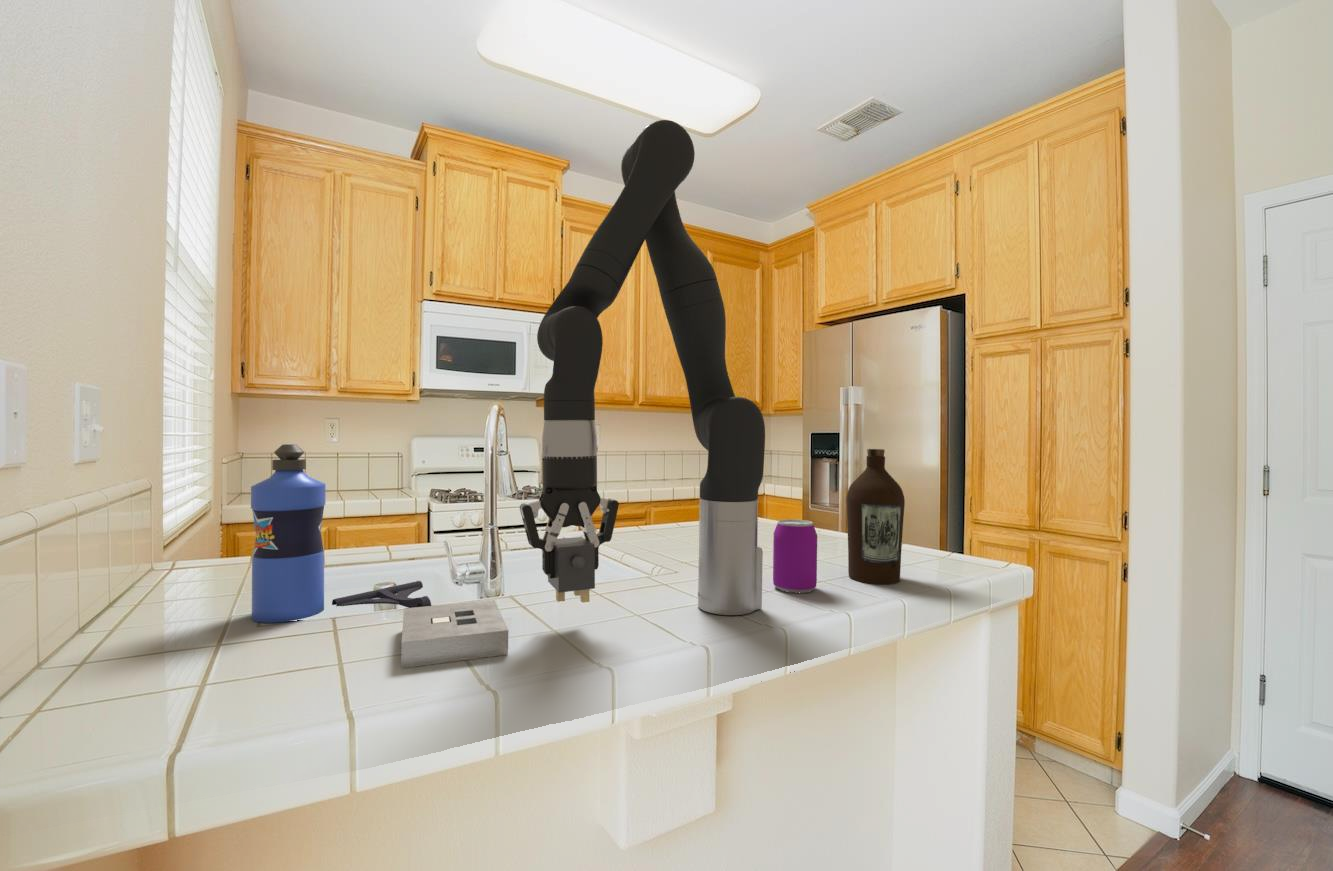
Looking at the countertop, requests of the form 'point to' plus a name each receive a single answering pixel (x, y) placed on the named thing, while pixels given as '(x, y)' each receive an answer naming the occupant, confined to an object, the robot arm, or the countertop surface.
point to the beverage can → (795, 556)
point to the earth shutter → (440, 620)
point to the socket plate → (452, 633)
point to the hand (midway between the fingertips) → (570, 574)
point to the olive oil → (875, 523)
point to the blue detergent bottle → (287, 541)
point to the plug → (574, 567)
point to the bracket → (387, 596)
